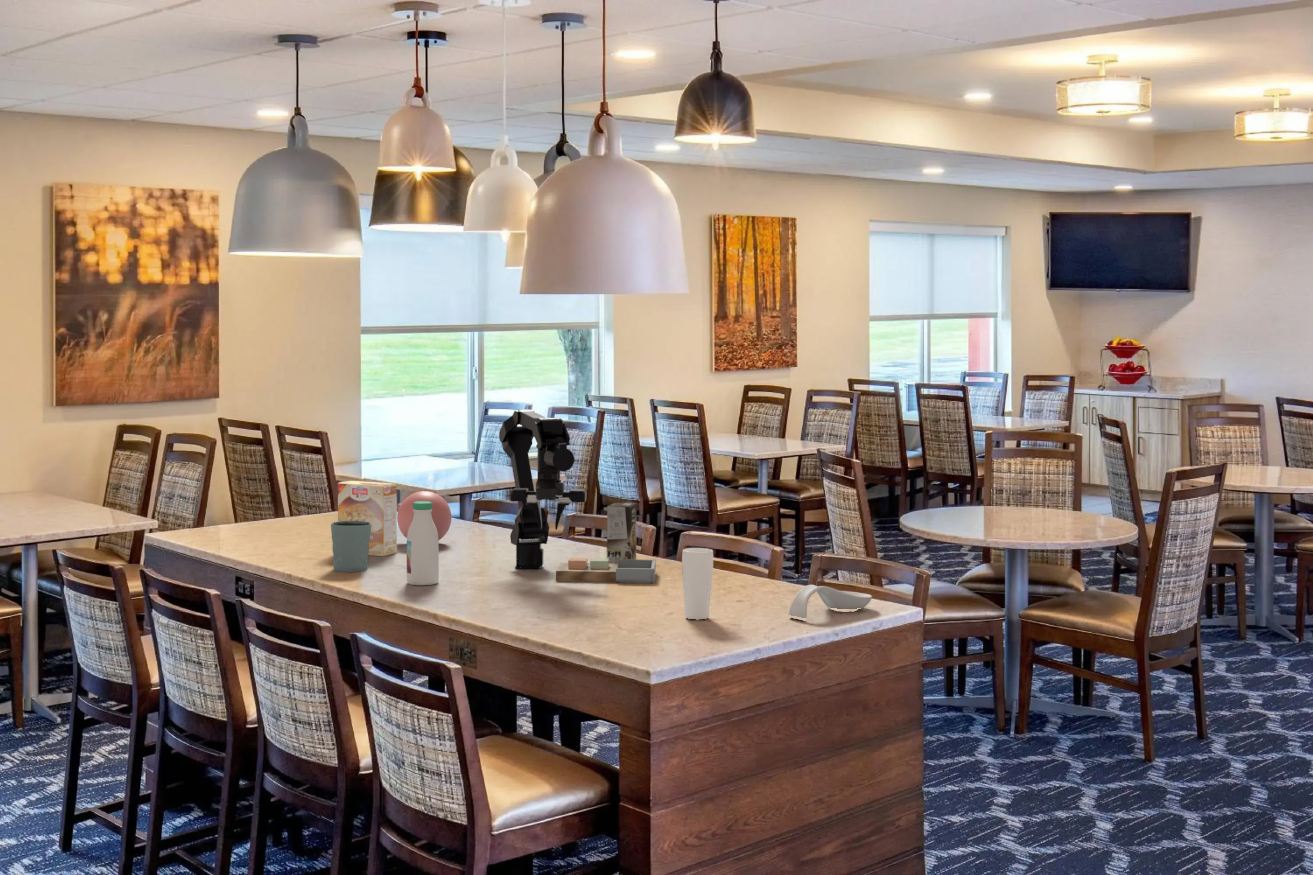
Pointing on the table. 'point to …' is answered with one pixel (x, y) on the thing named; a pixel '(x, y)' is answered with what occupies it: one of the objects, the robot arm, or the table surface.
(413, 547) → the milk bottle
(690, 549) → the drinking glass
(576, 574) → the walnut board
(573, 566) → the terracotta tile
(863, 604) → the spoon rest
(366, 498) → the coffeecake box
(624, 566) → the tray
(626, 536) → the coffee box
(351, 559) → the teal cup
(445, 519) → the balloon
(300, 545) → the table surface
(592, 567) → the sage tile
